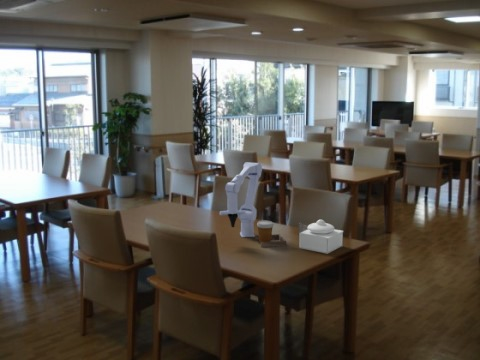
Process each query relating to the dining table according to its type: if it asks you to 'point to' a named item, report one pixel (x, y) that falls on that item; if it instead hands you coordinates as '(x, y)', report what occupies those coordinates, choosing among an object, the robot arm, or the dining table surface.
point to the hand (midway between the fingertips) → (232, 226)
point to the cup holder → (274, 243)
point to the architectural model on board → (302, 227)
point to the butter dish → (321, 237)
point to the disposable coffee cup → (264, 230)
